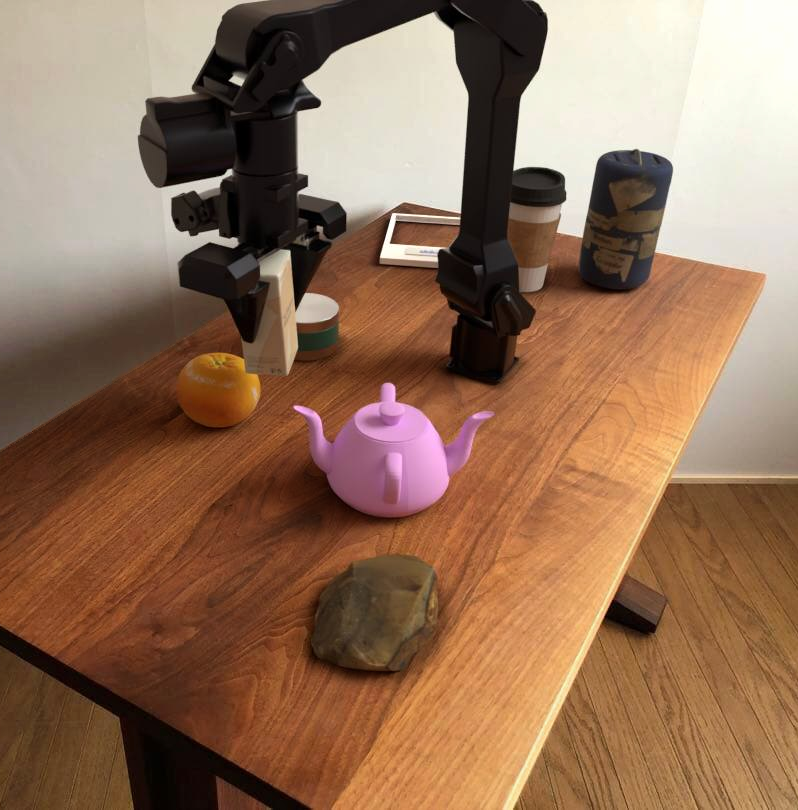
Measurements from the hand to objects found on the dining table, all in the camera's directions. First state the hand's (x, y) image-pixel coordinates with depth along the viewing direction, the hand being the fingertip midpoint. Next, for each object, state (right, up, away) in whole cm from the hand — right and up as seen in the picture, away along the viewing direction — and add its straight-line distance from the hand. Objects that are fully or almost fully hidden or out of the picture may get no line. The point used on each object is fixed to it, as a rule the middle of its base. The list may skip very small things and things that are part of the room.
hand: (269, 327), depth 87 cm
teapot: (+11, -15, 0) cm, 19 cm away
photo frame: (+23, +17, +50) cm, 57 cm away
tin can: (+3, 0, +23) cm, 24 cm away
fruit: (-6, -9, +10) cm, 14 cm away
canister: (+46, +10, +39) cm, 61 cm away
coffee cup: (+33, +9, +38) cm, 51 cm away
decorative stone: (+9, -25, -15) cm, 30 cm away
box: (0, -3, +3) cm, 4 cm away
